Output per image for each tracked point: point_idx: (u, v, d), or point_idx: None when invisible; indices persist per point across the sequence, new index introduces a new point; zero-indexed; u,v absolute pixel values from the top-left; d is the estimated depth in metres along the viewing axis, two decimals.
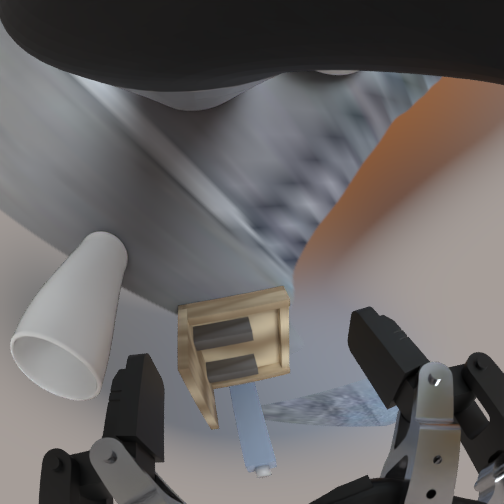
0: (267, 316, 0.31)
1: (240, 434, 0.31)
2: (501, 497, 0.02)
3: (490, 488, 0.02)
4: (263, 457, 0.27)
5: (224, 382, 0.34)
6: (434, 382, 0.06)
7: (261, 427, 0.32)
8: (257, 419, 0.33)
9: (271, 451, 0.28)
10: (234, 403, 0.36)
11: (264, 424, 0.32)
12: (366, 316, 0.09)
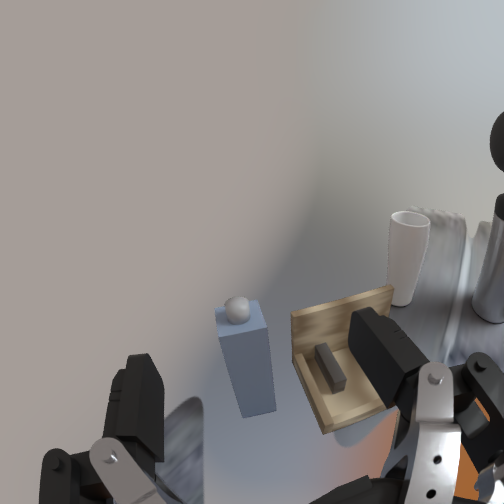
0: None
1: None
2: (501, 497, 0.02)
3: (490, 488, 0.02)
4: None
5: (306, 363, 0.31)
6: (434, 382, 0.06)
7: None
8: None
9: (267, 338, 0.22)
10: None
11: (271, 371, 0.24)
12: (366, 316, 0.09)
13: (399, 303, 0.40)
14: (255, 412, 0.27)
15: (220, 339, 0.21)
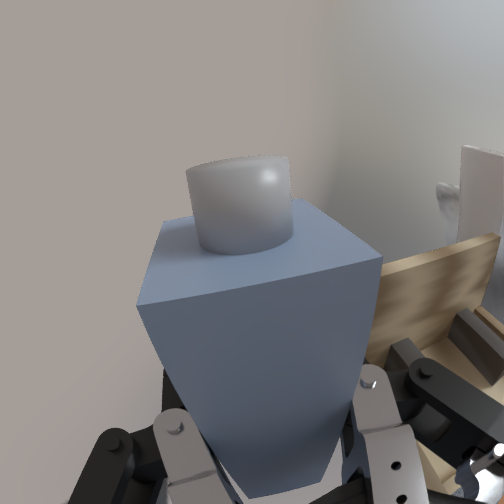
0: None
1: None
2: (489, 488, 0.02)
3: (474, 484, 0.03)
4: None
5: None
6: (364, 386, 0.06)
7: None
8: None
9: None
10: None
11: None
12: None
13: None
14: (277, 490, 0.10)
15: (148, 319, 0.04)
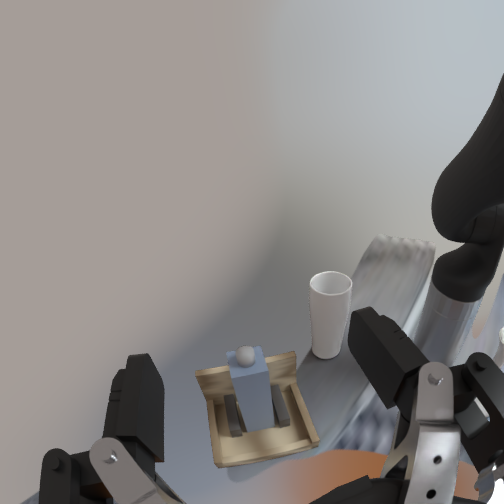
0: (290, 439, 0.30)
1: None
2: (501, 497, 0.02)
3: (490, 488, 0.02)
4: None
5: (214, 409, 0.35)
6: (434, 382, 0.06)
7: None
8: None
9: (268, 377, 0.27)
10: None
11: None
12: (366, 316, 0.09)
13: (322, 356, 0.44)
14: (257, 428, 0.32)
15: (232, 379, 0.26)
